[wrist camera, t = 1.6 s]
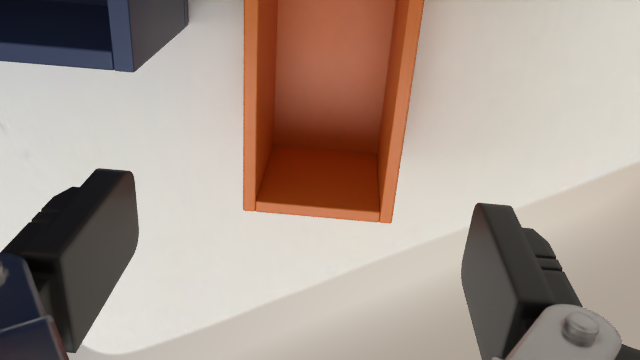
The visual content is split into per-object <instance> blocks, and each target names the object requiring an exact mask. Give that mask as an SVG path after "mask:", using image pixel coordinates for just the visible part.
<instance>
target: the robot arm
mask: <svg viewBox="0 0 640 360" xmlns="http://www.w3.org/2000/svg"><path fill="white" fill-rule="evenodd" d="M138 235H139V226H138V215H137V203H136V192H135V181H134V176H133V174H132V172H130V171H123V170H112V169H101V168H98V169H96V170H95V171H94V172H93V173H92V174H91V175H90V177H89V178H88V179H87V180H86V181H85V182H84V183H83V184H82V186H81V187H71V188H69V189H67V190H66V191H64V192H62V193H60V194H58V195H56V196H54V197H53V198H52V199H51V200H50V201H49V202H48V203H47V204H46V205H45V206H44V207H43V208H42V209H41V212H39V213H38V214H37V215H36V216H35V217H34V218H33V219H32V222H29V223H28V224H27V225H26V226H25V227H24V228H23V229H22V230H21V231H20V233H19V234H18V235H17V236H16V237H15V238H14V239H13V240H12V241H11V242H10V243H9V244H8V245H7V246H6V247H5V248H4V249H3V250H2V251H1V253H0V360H69V358H68V356H67V353H66V352H70V353H76V351H77V350H78V348H79V346H80V345H81V343H82V341H83V339H84V338H85V336H86V334H87V333H88V331H89V329H90V328H91V326H92V324H93V323H94V321H95V319H96V317H97V316H98V314H99V312H100V311H101V309H102V307H103V306H104V304H105V302H106V301H107V299H108V297H109V295H110V294H111V292H112V290H113V289H114V287H115V285H116V284H117V282H118V280H119V279H120V277H121V275H122V273H123V272H124V270H125V268H126V267H127V265H128V263H129V262H130V260H131V258H132V257H133V255H134V253H135V250H136V247H137V243H138ZM461 278H462V286H463V289H464V293H465V297H466V301H467V304H468V308H469V312H470V316H471V320H472V324H473V327H474V331H475V335H476V339H477V343H478V346H479V350H480V354H481V357H482V360H640V350H637V349H634V348H631V347H628V346H626V345H623V344H622V340H621V337H620V334H619V333H618V331H617V330H616V328H615V327H614V326H613V325H612V324H611V323H610V322H609V321H607V320H606V319H605V318H604V317H602V316H600V315H599V314H597V313H595V312H593V311H591V310H588V309H586V308H583V306H582V305H581V303H580V301H579V299H578V297H577V295H576V293H575V292H574V290H573V288H572V286H571V284H570V282H569V280H568V279H567V277H566V275H565V273H564V272H562V267H561V265H560V263H559V261H558V260H556V256H555V254H554V252H553V250H552V248H551V246H550V244H549V243H548V242H547V241H546V240H545V239H544V238H543V237H542V236H540V235H539V234H538V233H537V232H536V231H535V230H533V229H530V228H522V227H521V225H520V223H519V221H518V219H517V217H516V215H515V213H514V210H513V208H512V207H511V206H508V205H497V204H486V203H477V204H476V206H475V208H474V211H473V215H472V220H471V224H470V228H469V234H468V237H467V242H466V246H465V250H464V255H463V260H462V269H461Z"/></svg>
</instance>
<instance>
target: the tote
mask: <svg viewBox="0 0 640 360" xmlns="http://www.w3.org/2000/svg"><path fill="white" fill-rule="evenodd" d="M187 25H188V4H187V0H0V61H8V62H20V63H32V64H44V65H56V66H68V67H80V68H92V69H104V70H115V71H123V72H135V71H136V70H137V69H138V68H140V67H141V66H142V65H143V64H144V63H145V62H146V61H148V60H149V59H150V58H151V57H152V56H153V55H154V54H156V53H157V52H158V51H159V50H160V49H161V48H162V47H164V46H165V45H166V44H167V43H168V42H169V41H170V40H172V39H173V38H174V37H175V36H176V35H177V34H178V33H180V32H181V31H182V30H183V29H184V28H185V27H186V26H187Z"/></svg>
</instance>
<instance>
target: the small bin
mask: <svg viewBox="0 0 640 360" xmlns="http://www.w3.org/2000/svg"><path fill="white" fill-rule="evenodd" d="M423 5H424V0H244V149H243V209H244V210H245V211H255V210H256V211H257V212H268V213H279V214H290V215H301V216H313V217H324V218H335V219H346V220H358V221H369V222H381V223H391V222H392V216H393V209H394V202H395V195H396V189H397V182H398V175H399V168H400V161H401V155H402V148H403V141H404V134H405V127H406V120H407V114H408V107H409V100H410V93H411V86H412V80H413V73H414V66H415V59H416V52H417V46H418V39H419V32H420V25H421V18H422V12H423Z"/></svg>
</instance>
